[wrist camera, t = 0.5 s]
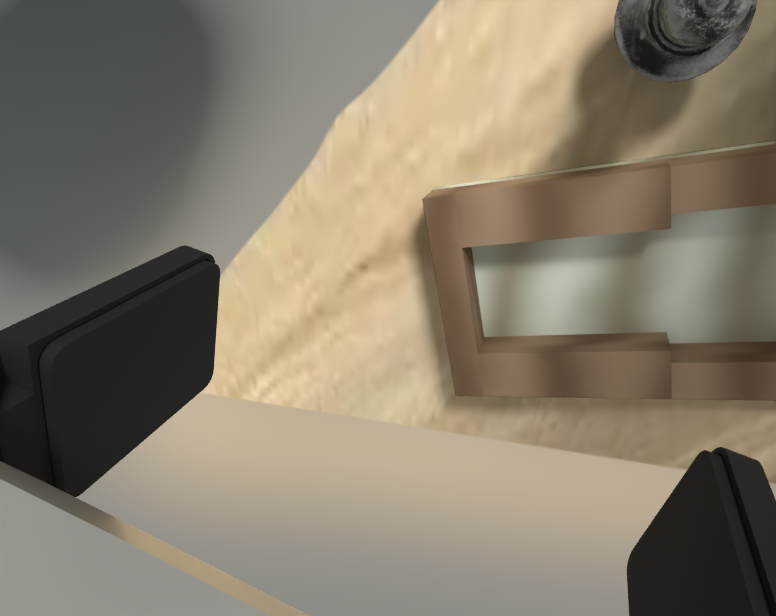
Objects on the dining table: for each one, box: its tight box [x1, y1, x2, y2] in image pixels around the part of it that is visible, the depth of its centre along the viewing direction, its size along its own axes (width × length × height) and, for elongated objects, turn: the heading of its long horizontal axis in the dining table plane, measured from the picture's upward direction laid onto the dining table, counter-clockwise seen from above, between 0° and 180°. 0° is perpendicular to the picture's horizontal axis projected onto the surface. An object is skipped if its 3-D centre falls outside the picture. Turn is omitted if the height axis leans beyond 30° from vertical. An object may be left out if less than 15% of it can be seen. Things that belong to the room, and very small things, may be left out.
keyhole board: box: [422, 141, 776, 401], centre depth 32 cm, size 24×14×4 cm, turn 101°
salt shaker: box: [615, 0, 757, 82], centre depth 23 cm, size 6×6×12 cm
